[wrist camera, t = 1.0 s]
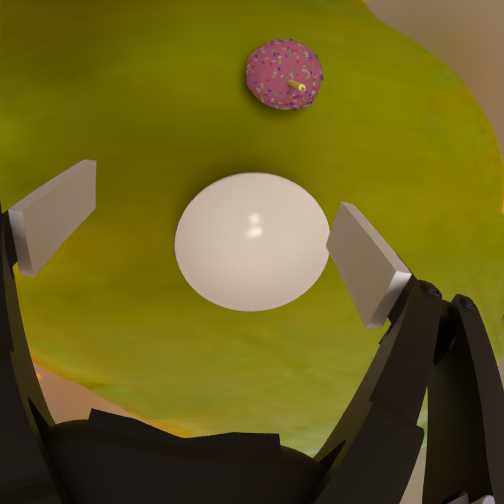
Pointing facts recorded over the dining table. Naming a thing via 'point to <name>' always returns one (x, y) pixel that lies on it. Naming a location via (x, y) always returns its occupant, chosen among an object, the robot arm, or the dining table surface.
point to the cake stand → (252, 241)
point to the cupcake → (284, 74)
